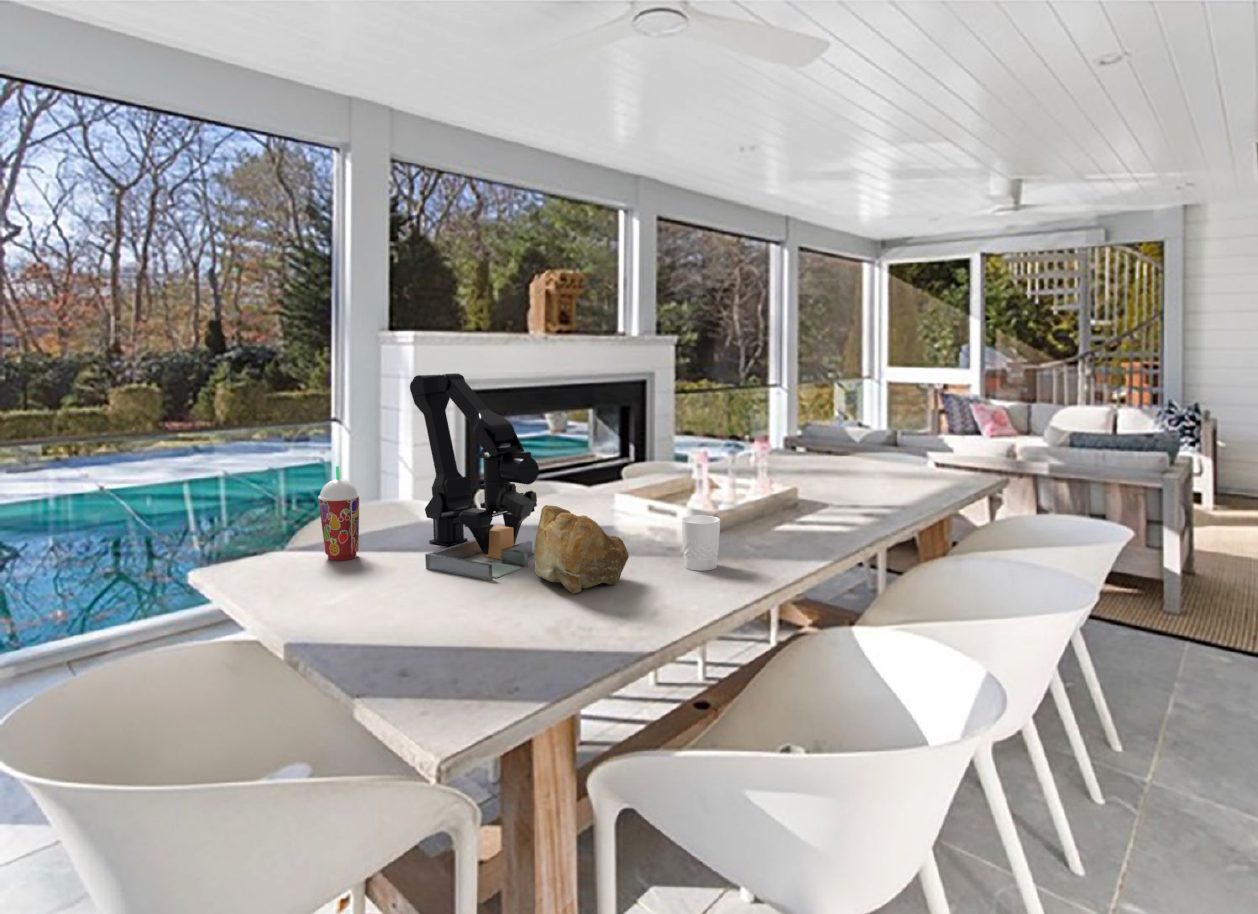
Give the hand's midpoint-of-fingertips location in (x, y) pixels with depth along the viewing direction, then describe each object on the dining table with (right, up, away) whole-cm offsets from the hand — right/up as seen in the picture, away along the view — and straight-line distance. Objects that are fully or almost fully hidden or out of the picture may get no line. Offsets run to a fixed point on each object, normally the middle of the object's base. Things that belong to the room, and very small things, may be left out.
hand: (499, 550), depth 174 cm
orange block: (0, -1, 0) cm, 1 cm away
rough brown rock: (+20, -4, -20) cm, 29 cm away
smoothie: (-34, -2, -2) cm, 34 cm away
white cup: (+43, -3, -10) cm, 44 cm away
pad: (+1, -3, -12) cm, 12 cm away
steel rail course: (-1, -2, -6) cm, 7 cm away
